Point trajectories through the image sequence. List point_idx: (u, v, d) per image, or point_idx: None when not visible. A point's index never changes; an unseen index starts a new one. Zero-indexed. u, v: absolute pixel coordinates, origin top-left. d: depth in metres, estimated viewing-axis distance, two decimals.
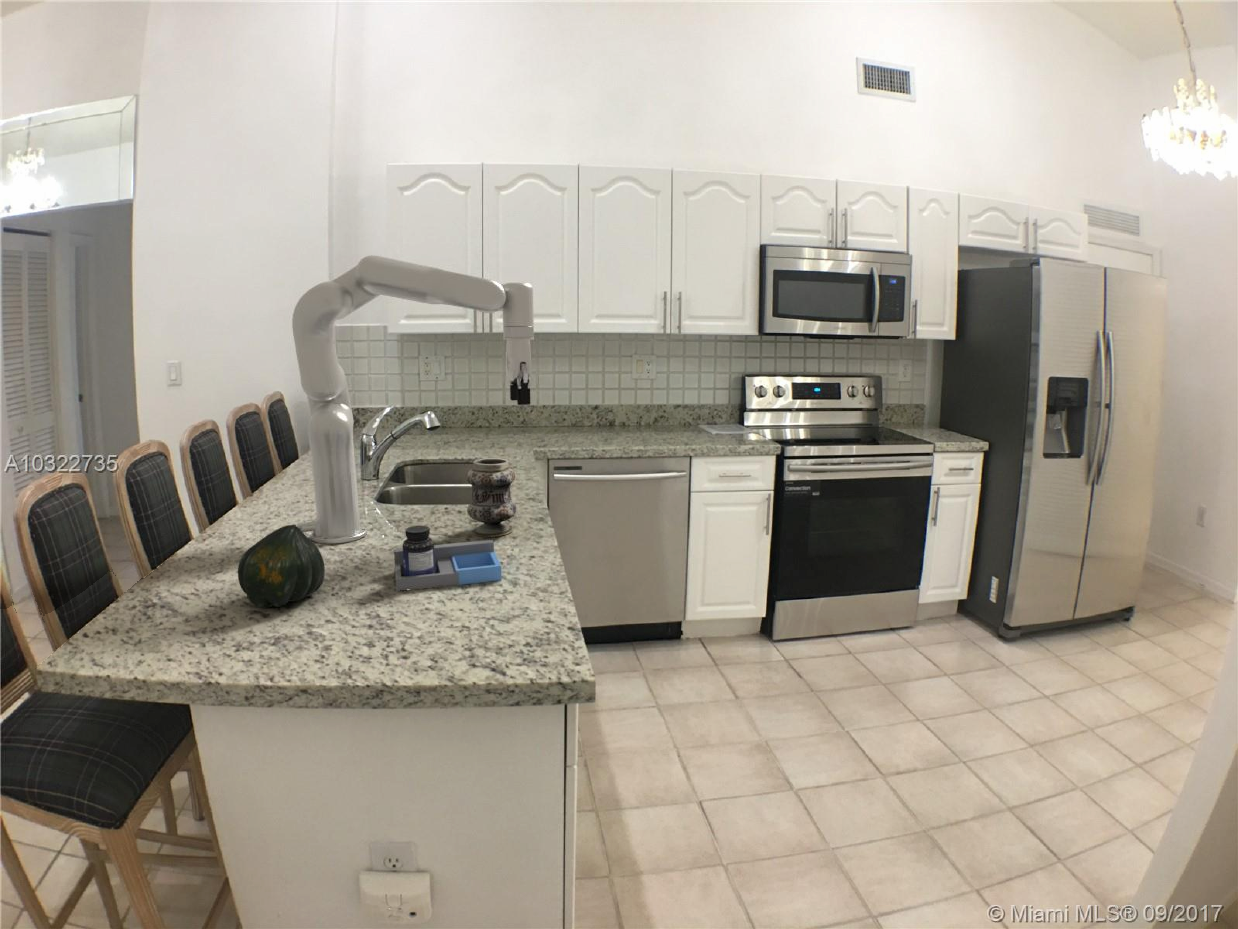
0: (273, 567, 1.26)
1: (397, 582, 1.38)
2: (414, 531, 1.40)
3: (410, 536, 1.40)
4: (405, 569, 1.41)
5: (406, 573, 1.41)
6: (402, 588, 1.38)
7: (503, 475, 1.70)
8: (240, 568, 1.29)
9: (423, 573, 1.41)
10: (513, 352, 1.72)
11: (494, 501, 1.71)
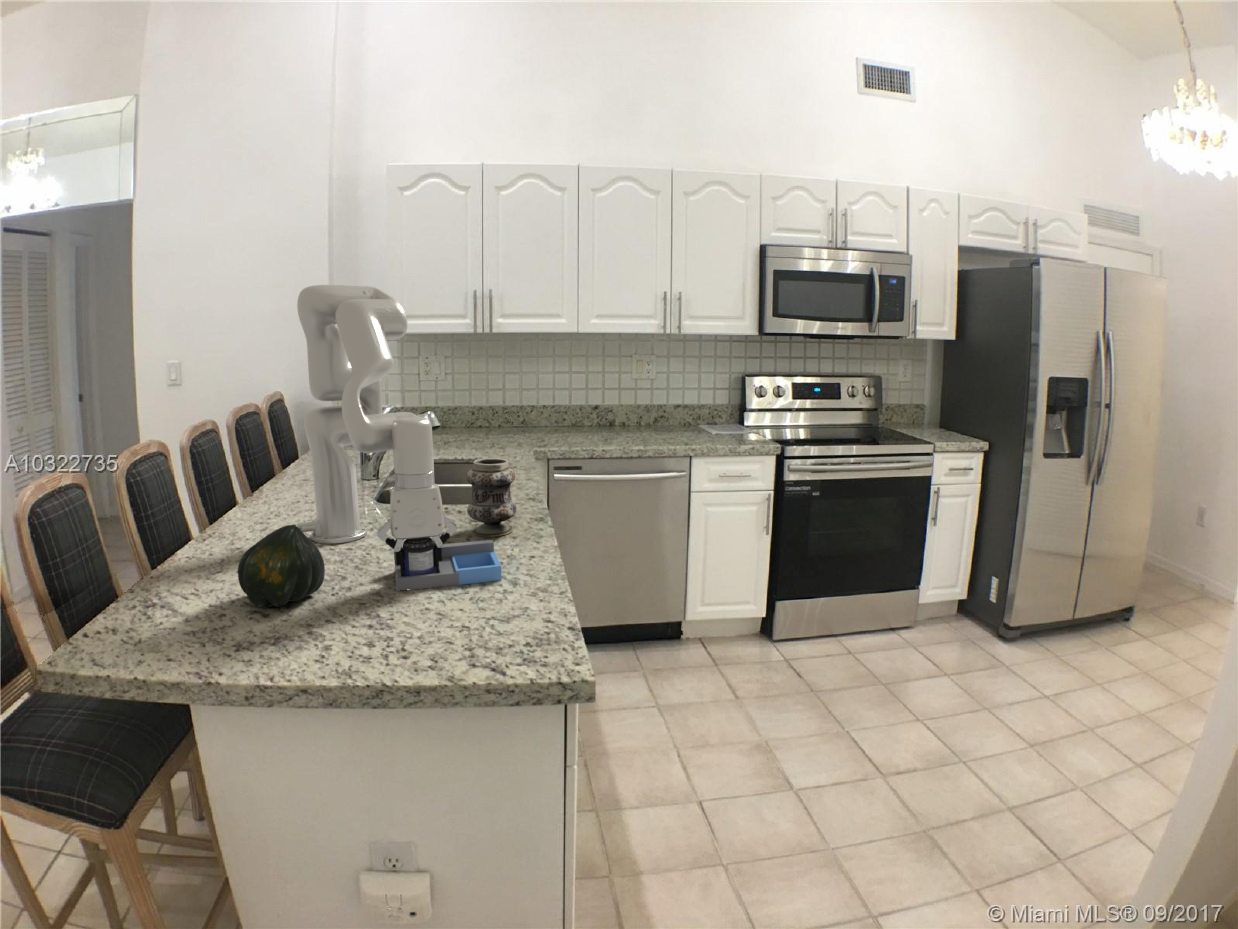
0: (273, 567, 1.26)
1: (397, 582, 1.38)
2: None
3: None
4: (405, 569, 1.41)
5: (406, 573, 1.41)
6: (402, 588, 1.38)
7: (503, 475, 1.70)
8: (240, 568, 1.29)
9: (423, 573, 1.41)
10: (440, 502, 1.40)
11: (494, 501, 1.71)
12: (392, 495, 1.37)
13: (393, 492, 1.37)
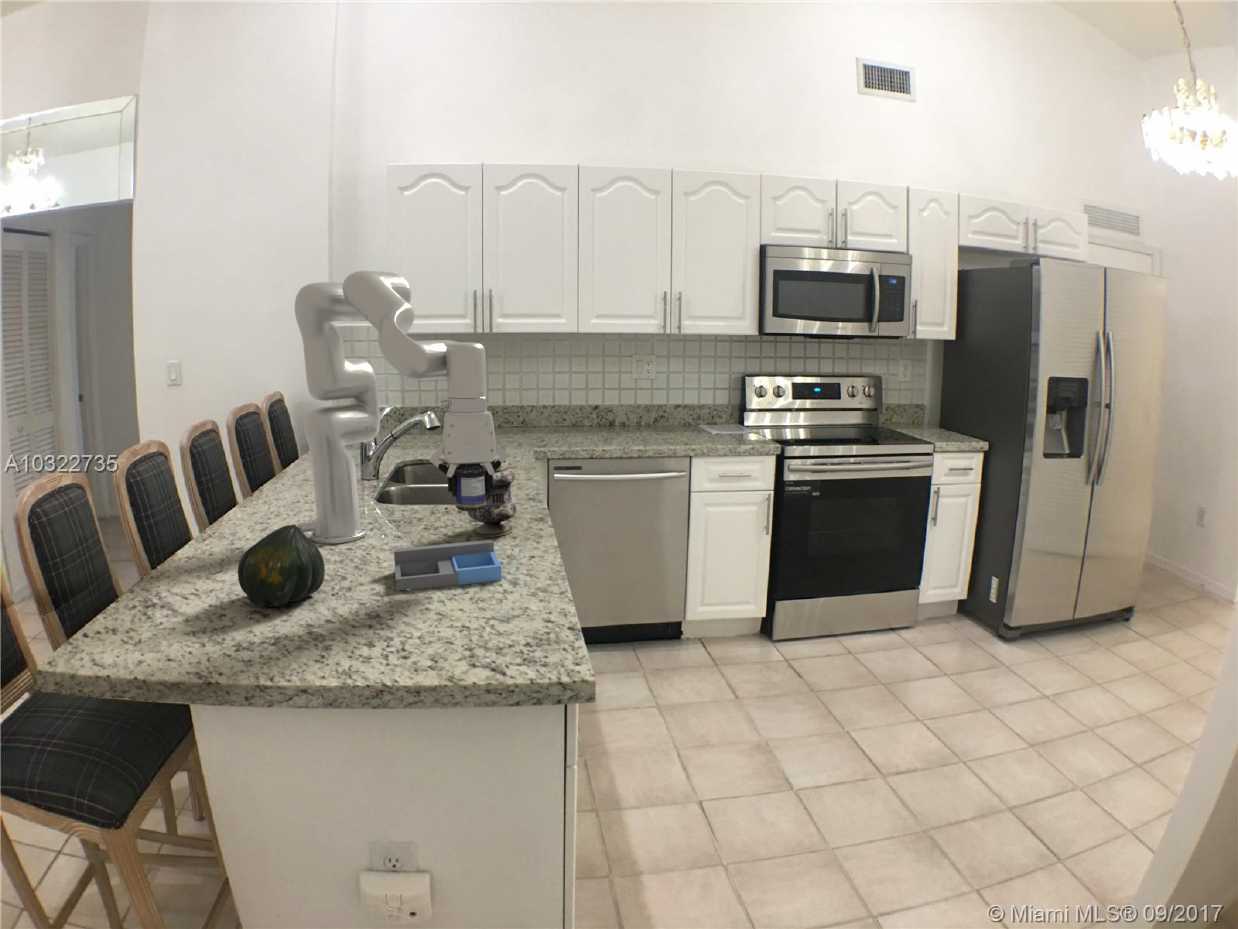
0: (273, 567, 1.26)
1: (397, 582, 1.38)
2: None
3: None
4: (457, 495, 1.42)
5: (458, 499, 1.42)
6: (402, 588, 1.38)
7: (503, 475, 1.70)
8: (240, 568, 1.29)
9: (475, 499, 1.41)
10: (493, 428, 1.40)
11: (494, 501, 1.71)
12: (446, 419, 1.37)
13: (447, 416, 1.37)
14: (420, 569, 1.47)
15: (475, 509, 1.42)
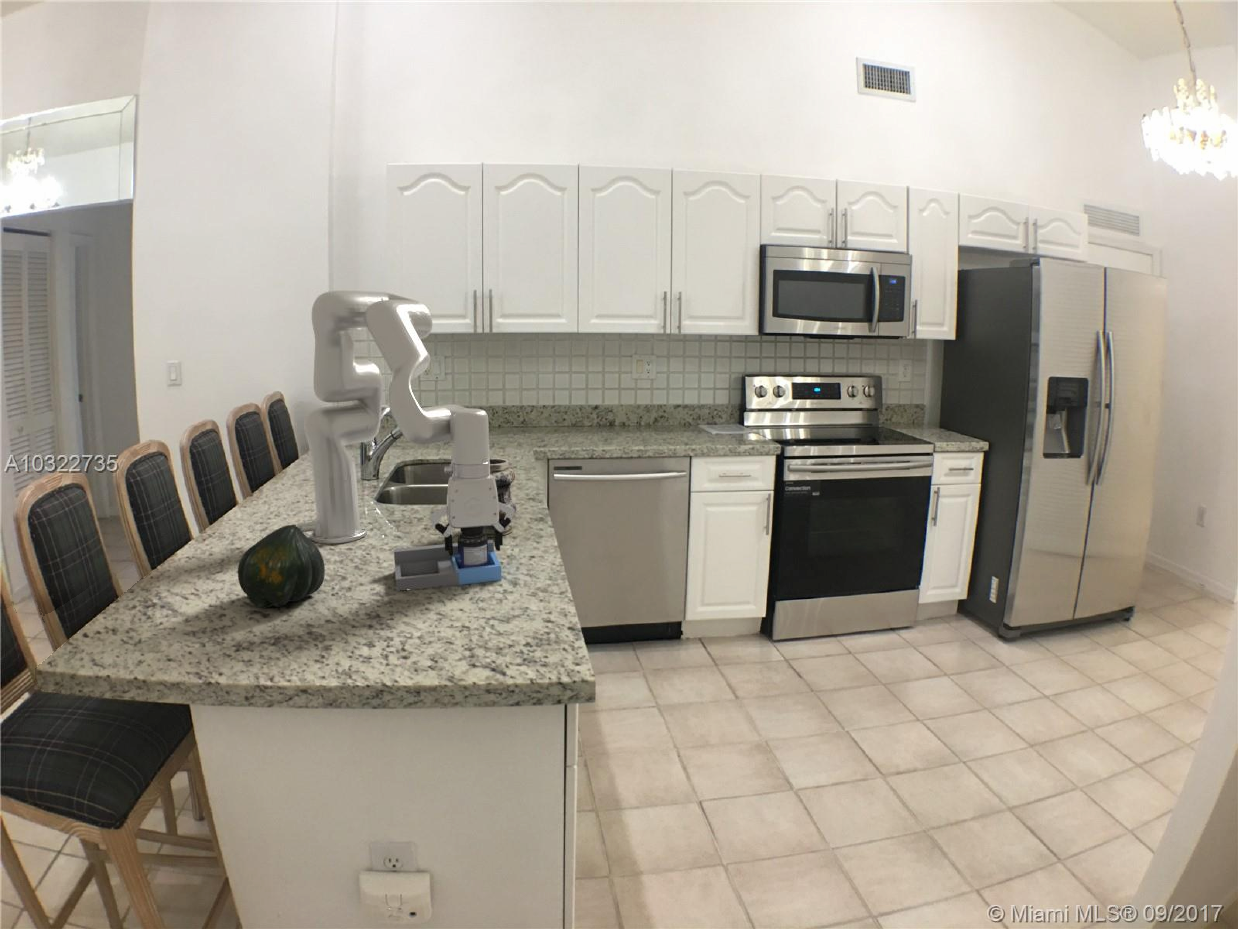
0: (273, 567, 1.26)
1: (397, 582, 1.38)
2: None
3: (465, 531, 1.43)
4: (460, 563, 1.45)
5: (461, 567, 1.45)
6: (402, 588, 1.38)
7: (503, 475, 1.70)
8: (240, 568, 1.29)
9: None
10: (496, 492, 1.43)
11: None
12: (450, 485, 1.40)
13: (451, 482, 1.40)
14: (420, 569, 1.47)
15: None
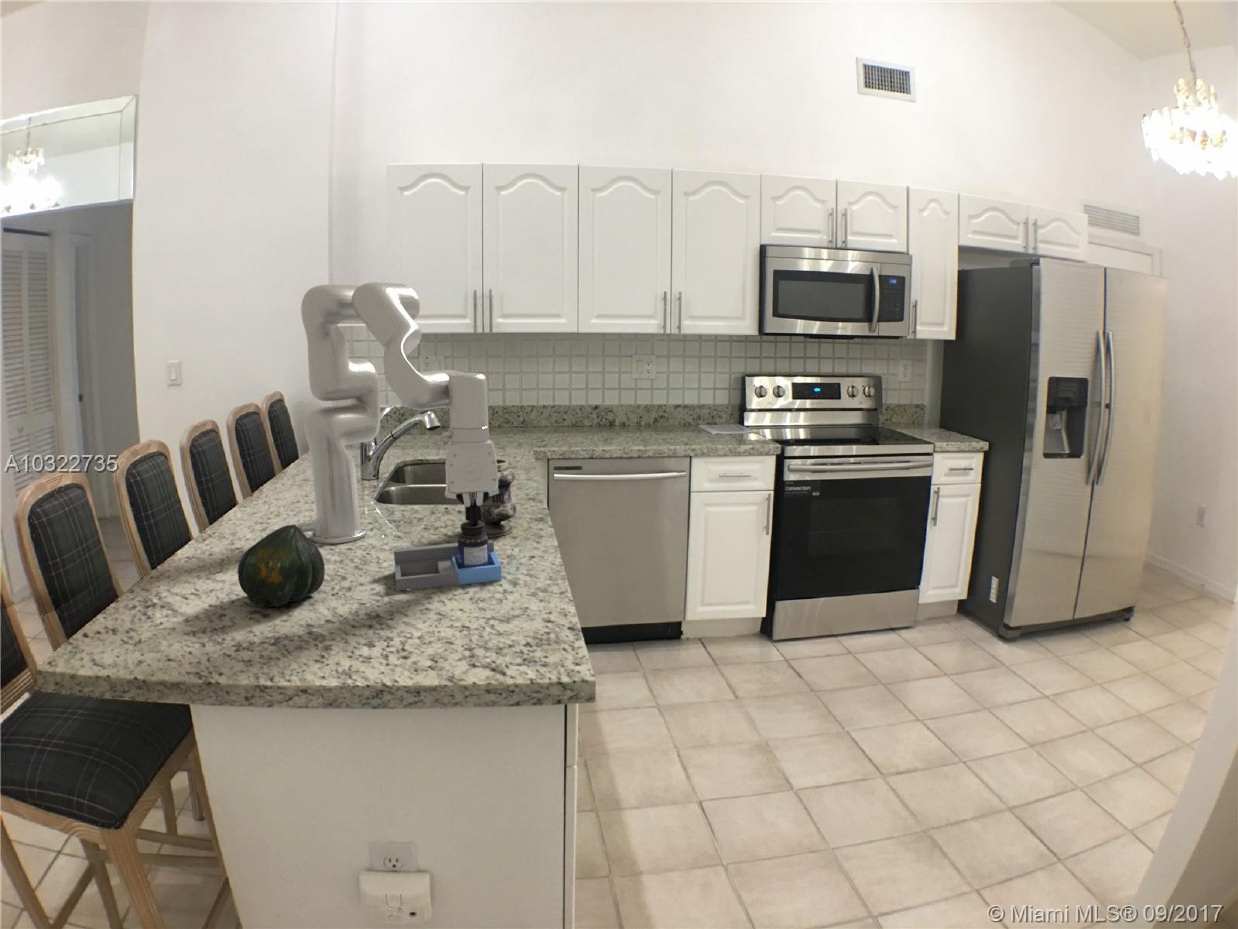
0: (273, 567, 1.26)
1: (397, 582, 1.38)
2: (470, 526, 1.43)
3: (466, 531, 1.43)
4: (460, 563, 1.45)
5: (461, 567, 1.45)
6: (402, 588, 1.38)
7: (503, 475, 1.70)
8: (240, 568, 1.29)
9: None
10: (495, 457, 1.41)
11: (494, 501, 1.71)
12: (448, 449, 1.39)
13: (449, 446, 1.38)
14: (420, 569, 1.47)
15: None
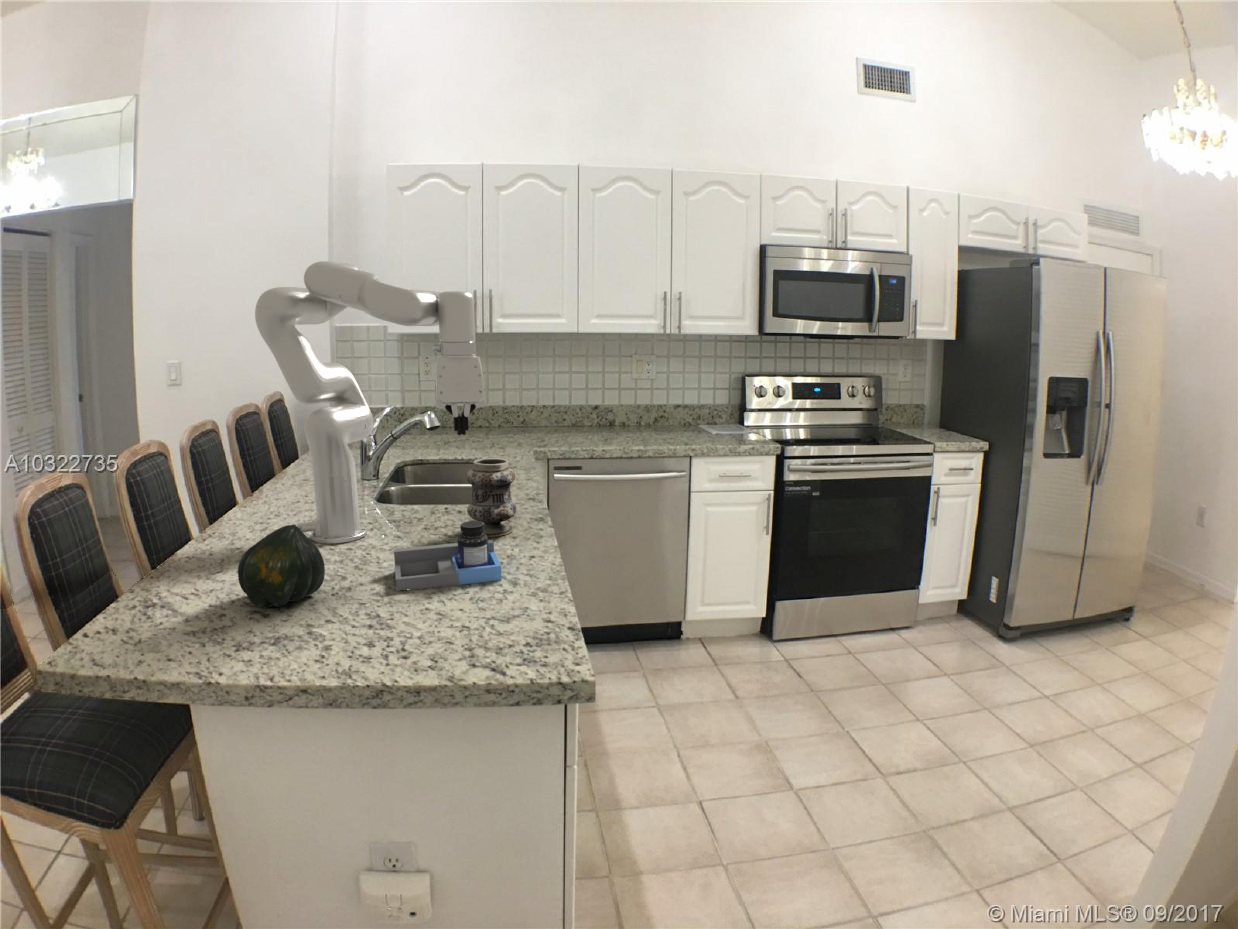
0: (273, 567, 1.26)
1: (397, 582, 1.38)
2: (469, 526, 1.43)
3: (465, 531, 1.43)
4: (460, 563, 1.45)
5: (461, 567, 1.45)
6: (402, 588, 1.38)
7: (503, 475, 1.70)
8: (240, 568, 1.29)
9: None
10: (481, 370, 1.53)
11: (494, 501, 1.71)
12: (438, 362, 1.50)
13: (439, 359, 1.50)
14: (420, 569, 1.47)
15: None
